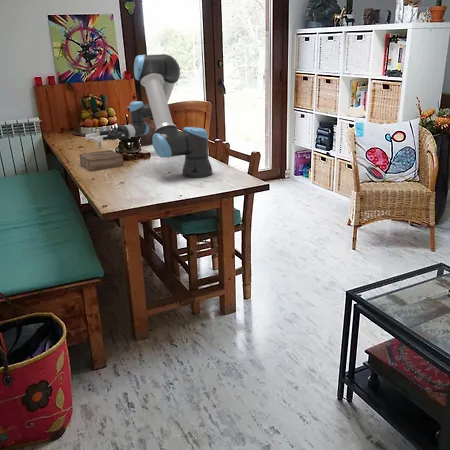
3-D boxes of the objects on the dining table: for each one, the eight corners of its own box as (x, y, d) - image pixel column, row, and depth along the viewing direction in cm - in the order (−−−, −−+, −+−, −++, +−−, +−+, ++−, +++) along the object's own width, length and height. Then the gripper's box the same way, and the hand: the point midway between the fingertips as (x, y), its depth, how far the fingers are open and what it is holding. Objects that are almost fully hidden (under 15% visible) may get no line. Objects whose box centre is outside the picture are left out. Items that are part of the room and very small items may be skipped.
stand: (123, 166, 254) (122, 155, 252) (91, 171, 245) (89, 160, 243) (111, 160, 268) (110, 149, 266) (80, 164, 259) (79, 154, 257)
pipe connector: (104, 150, 247) (102, 131, 244) (87, 149, 249) (84, 131, 246) (112, 146, 256) (110, 128, 253) (95, 145, 258) (93, 127, 255)
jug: (135, 148, 297) (131, 108, 288) (120, 143, 312) (116, 105, 303) (165, 143, 310) (162, 105, 301) (148, 139, 325) (145, 102, 316)
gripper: (138, 140, 258) (104, 147, 242) (113, 136, 271) (80, 142, 256) (137, 127, 255) (103, 133, 239) (112, 123, 269) (78, 129, 253)
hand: (91, 138), depth 248 cm, fingers closed on pipe connector, 10 cm apart
